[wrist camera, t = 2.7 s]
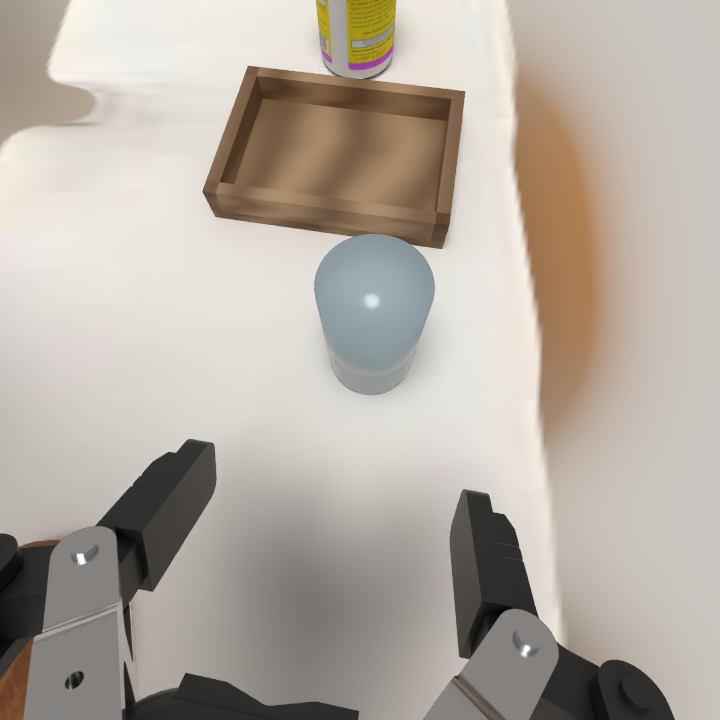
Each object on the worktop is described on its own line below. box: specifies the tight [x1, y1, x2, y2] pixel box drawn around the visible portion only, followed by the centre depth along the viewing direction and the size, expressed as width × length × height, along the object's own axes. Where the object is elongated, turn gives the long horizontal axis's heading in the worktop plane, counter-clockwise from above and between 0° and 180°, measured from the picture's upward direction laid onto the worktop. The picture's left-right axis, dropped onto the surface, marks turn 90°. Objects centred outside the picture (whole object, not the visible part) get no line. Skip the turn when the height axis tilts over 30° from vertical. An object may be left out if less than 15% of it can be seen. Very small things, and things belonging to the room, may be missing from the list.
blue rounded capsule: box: [314, 234, 435, 395], centre depth 24 cm, size 6×6×10 cm
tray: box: [202, 66, 465, 249], centre depth 32 cm, size 18×13×3 cm
